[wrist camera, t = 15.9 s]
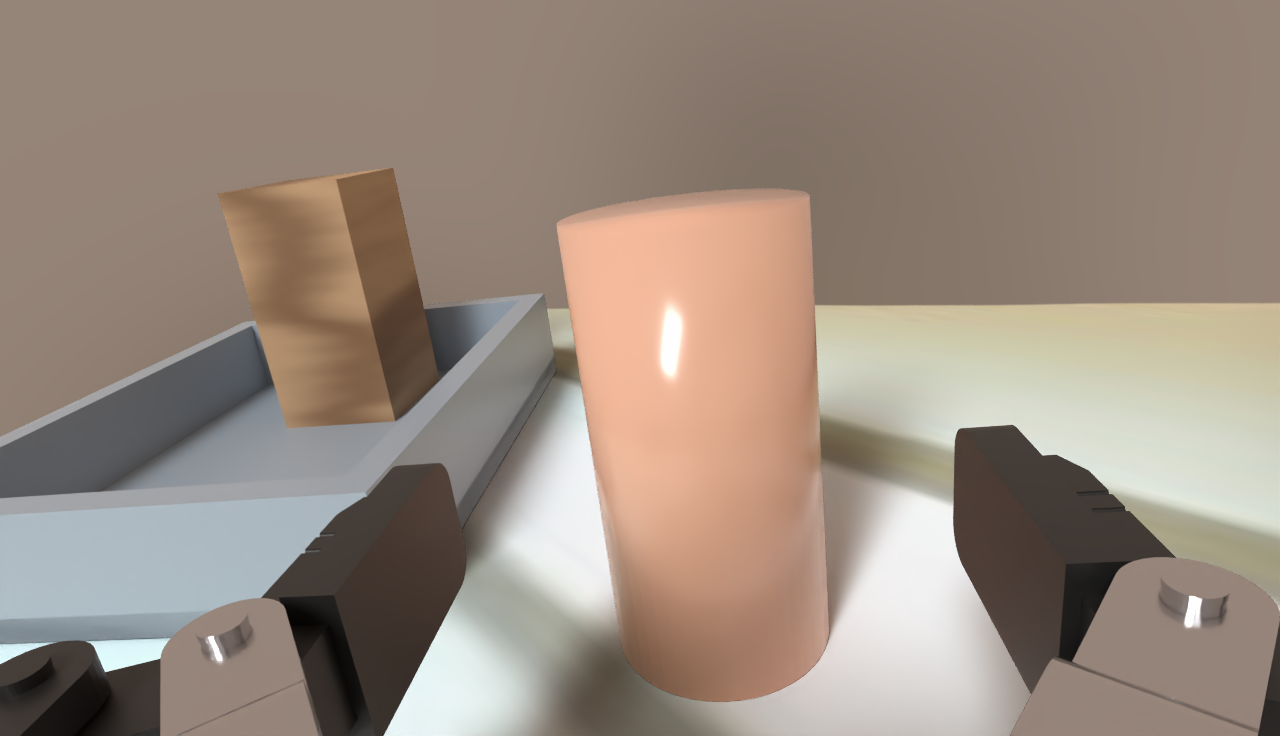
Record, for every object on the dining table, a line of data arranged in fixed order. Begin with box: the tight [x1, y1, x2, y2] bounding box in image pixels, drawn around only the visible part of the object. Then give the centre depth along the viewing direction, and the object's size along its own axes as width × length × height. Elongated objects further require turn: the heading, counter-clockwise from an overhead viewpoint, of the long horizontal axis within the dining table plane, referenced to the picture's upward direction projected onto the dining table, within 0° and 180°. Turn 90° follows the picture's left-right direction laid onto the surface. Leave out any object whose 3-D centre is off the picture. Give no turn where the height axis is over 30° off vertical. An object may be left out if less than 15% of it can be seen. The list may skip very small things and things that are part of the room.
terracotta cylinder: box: [557, 189, 829, 702], centre depth 17 cm, size 5×5×10 cm
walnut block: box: [218, 168, 439, 428], centre depth 33 cm, size 5×5×10 cm
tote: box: [0, 293, 557, 644], centre depth 29 cm, size 20×16×4 cm
